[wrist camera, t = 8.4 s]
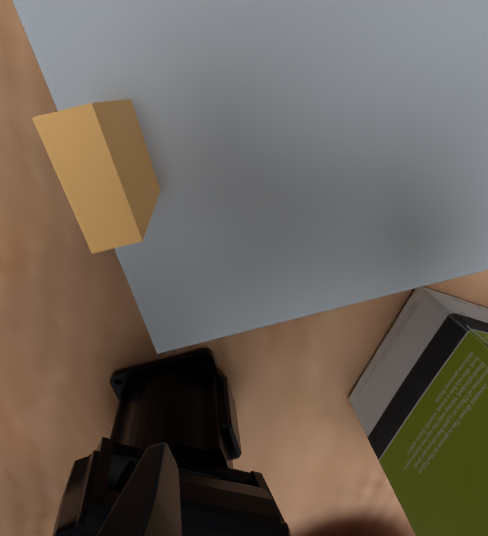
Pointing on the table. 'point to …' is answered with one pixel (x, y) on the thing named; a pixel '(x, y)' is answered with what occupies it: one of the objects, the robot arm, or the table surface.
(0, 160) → the table surface
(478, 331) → the tea box
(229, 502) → the robot arm
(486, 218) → the lid
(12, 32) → the table surface
